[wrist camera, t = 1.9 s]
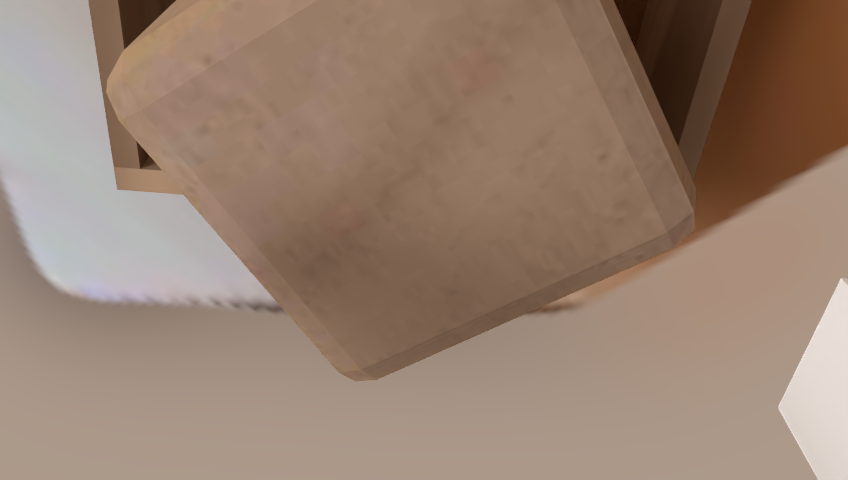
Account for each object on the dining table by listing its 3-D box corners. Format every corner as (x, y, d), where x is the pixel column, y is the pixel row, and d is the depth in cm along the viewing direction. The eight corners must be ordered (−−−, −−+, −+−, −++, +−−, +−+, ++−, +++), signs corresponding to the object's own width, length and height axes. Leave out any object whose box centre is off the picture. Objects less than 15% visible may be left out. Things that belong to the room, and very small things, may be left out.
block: (572, 2, 33) (725, 245, 16) (383, 107, 36) (349, 409, 19) (465, -225, 29) (527, -210, 12) (258, -84, 31) (67, 93, 14)
